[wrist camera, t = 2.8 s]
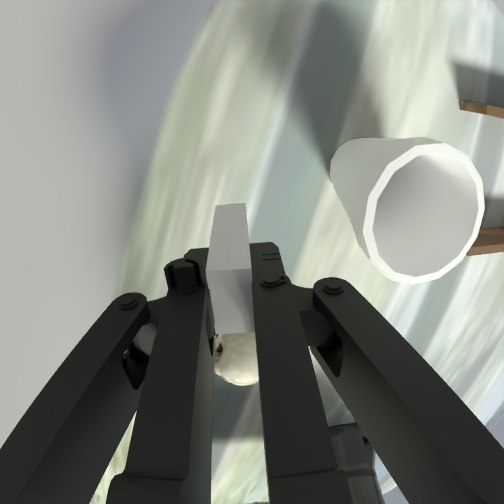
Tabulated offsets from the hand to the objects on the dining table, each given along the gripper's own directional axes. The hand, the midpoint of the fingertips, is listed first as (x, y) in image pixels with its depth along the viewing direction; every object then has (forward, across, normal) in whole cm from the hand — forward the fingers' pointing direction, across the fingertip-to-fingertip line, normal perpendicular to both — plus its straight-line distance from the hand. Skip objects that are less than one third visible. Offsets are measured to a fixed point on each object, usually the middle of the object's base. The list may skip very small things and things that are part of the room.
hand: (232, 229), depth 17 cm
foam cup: (+14, -12, 0) cm, 18 cm away
